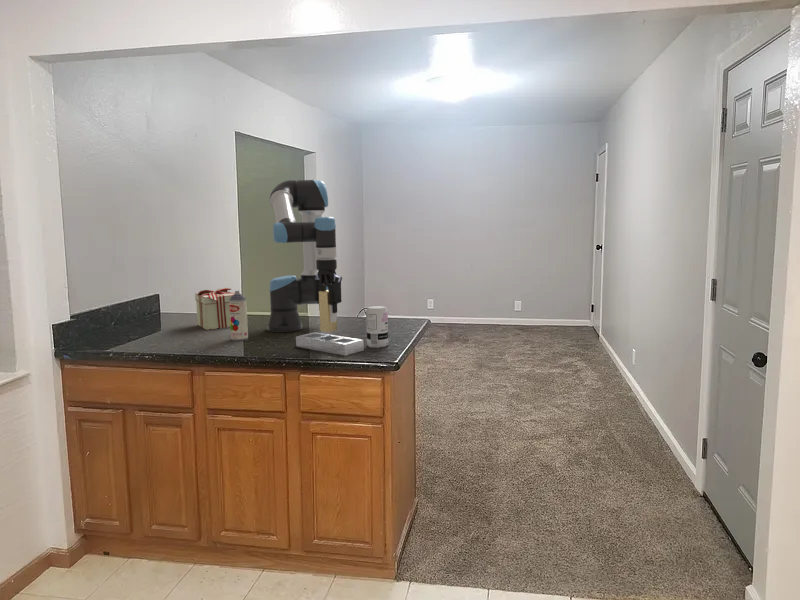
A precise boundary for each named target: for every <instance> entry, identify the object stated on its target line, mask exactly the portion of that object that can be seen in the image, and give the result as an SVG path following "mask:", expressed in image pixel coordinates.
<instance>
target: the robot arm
mask: <svg viewBox="0 0 800 600" xmlns="http://www.w3.org/2000/svg"><path fill="white" fill-rule="evenodd" d="M328 197H329V196H328V191H327V186H326V184H325V182H324V181H323V180H317V179H302V180H301V179H296V180H294V179H293V180H292V179H291V180H290V179H289V180H285V181H282V182H280V183H278V184H277V185H276V186H275V187H274V188H273V189H272V191H271V192H270V195H269V202H270V206H271V208H272V209H273V211H274V217H275V223H273V225H272V238H273V242H274V243H276V244H277V243H278V244H279V243H281V244H282V243H283V244H287V243H288V244H290V243H302V249H303V250H302V251H303V252H302V253H303V270H302V272H301V274H300V278H297V276H296V275H294V274H292V275H284V276H278V277H274V278H272V279H270V281H269V289H268V290H269V291H268V292H269V299H270V300H269V301H270V314H269V318H268V323H267V331H268V332H273V333H291V332H295V331H297V332H298V331H300V330H302V329H303V322H302V320H301V317H300V313H299V311H298V306H299V305H303V306H304V305H319V291H325V290H329V294H330V300H331V303H330V322H335V321H337V322H338V315H336V313H337V314H338V304H340V303H342V281H343V276H340V275H339V276H338V275H337V272H336V269H337V267H338V266H337V265H338V264H337V263H338V262H337V259H336V258H337V242H336V238H337V237H336V236H337V235H336V227H337V225H336V219H335V217H333V216H322V215H323V214H324V213H325V212H326V209H325V208H327V207H329V198H328ZM294 208H297V212H298V214H299V215H301V222H300V221H299V222H297V220H296V216H295V212H294Z"/></svg>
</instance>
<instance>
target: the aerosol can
mask: <svg viewBox="0 0 800 600" xmlns="http://www.w3.org/2000/svg"><path fill="white" fill-rule="evenodd" d="M234 293H235V294H234V295H233V296H232V297H231V298H230V299H229V310H230V327H229V328H230V337H231V338H230V340H231V341H232V340H233V342H243V341H247V340H249V330H248V327H249V326H248V310H247V309H248V308H247V299H246V297H245V296H244V295H243V294H241V293H240V290H234Z"/></svg>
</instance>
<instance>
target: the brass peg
mask: <svg viewBox="0 0 800 600" xmlns="http://www.w3.org/2000/svg"><path fill="white" fill-rule="evenodd" d="M330 303H331V300H330V294H329V290H325V291H319V304H318V311H319V330H320V332H326V333H330V332H335V331H338V320H337V321H335V322H330ZM337 314H338V312H337V313H336V315H337ZM337 316H338V315H337Z"/></svg>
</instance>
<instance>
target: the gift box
mask: <svg viewBox="0 0 800 600" xmlns="http://www.w3.org/2000/svg"><path fill="white" fill-rule="evenodd" d="M231 290H232V288H231V287H230V288H228V287H224V288H217V289H216V290H211V289H205V290H204V289H203V290H200V291H198V293H195V294H194V298H195V299H194V300H195V302H196V303H195V304H196V318H197V319H196V320H197V322H196V323H197V326H199V327H200V328H203V329H204V330H206V331H209V329H211V330H218V329H217V328H220V329H228V328H227V327H229V328H231V327H230V310H229V299H230V298H231V297H232V296H233V295H234V294H235V292H233V291H232V292H230V291H231Z"/></svg>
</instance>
